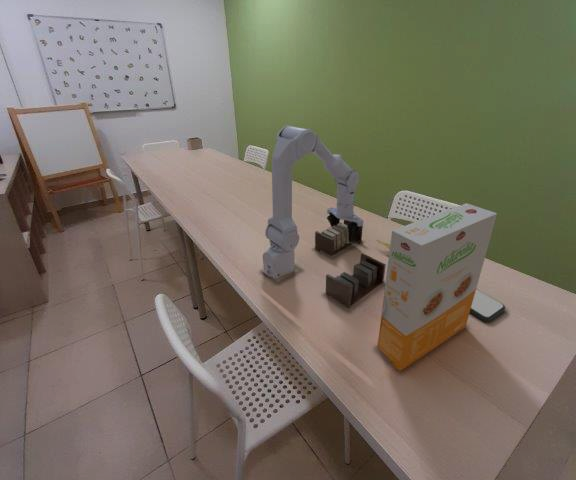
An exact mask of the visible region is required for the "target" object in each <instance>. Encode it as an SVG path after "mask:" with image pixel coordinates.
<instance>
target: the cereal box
mask: <svg viewBox="0 0 576 480" xmlns="http://www.w3.org/2000/svg"><path fill="white" fill-rule="evenodd" d="M497 216H498V213H497V212H494V211H492V210H488V209H486V208H482V207H479V206H477V205H473V204H470V203H467V202H465V203H463V204H461V205H457V206H455V207H452V208H449V209H447V210H444V211H441V212H439V213H438V212H437V213H436V214H433V215H430V216H427V217H425V218H422V219H420V220H417V221H414V222H411V223H409V224H406V225H403V226H400V227H398V228H394V229H392V230H391V236H390V243H389V244H390V249H389V252H388V261H387V268H386V269H387V270H386V276H385V284H384V292H383V298H382V299H383V300H382V306H381V307H382V309H381V316H380V317H381V318H380V324H379V332H378V339H377V348H378V349H379V350H380V351H381V352H382V353H383V354H385V355H386V356H387V357H388V358H389V359H390V364H391V365H392V366H393V367H394V368H395V369H396V370H397V371H398V372H402V371H403V370H404V369H406V368H407V367H408V366H410V365H411V364H413V363H415V362H416V361H418V360H419V359H420V358H422V357H424V356H425V355H426V354H429V352H431V351H432V350H434V349H435V348H437V347H439V346H440V345H441V344H443V343H444V342H446V341H447V340H448V339H450V338H451V337H453V336H454V335H456V334H458V333H459V332H461V331H462V330H463V329H465V328H466V327H467V323H468V320H469V316H470V314H471V313H470V309H471V306H472V302H473V298H474V295H475V291H476V289H477V287H478V284H479V280H480V277H481V273H482V270H483V266H484V262H485V258H486V255H487V252H488V248H489V245H490V241H491V239H492V234H493V231H494V226H495V223H496V219H497Z"/></svg>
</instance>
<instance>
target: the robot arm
mask: <svg viewBox="0 0 576 480" xmlns="http://www.w3.org/2000/svg"><path fill="white" fill-rule="evenodd" d="M275 136H276V142H275V143H276V144H275V146H274V149H273V152H272V155H271V187H272V189H271V190H272V191H271V192H272V193H271V194H272V196H271V197H272V216H271V217H269V218H268V219H267V226H266V227H265V233H264V234H265V238H267V239H268V240H269V244H270V245H269V248H268V249H267V250H266V251H264V252H263V253H262V263H263V265H262V267H263V269H262V273H264V275H266V276H267V277H269V278H272V279H274V280H278V279H279V278H282V277H284V276H286V275H290V274H291V273H293V272H294V271H295V269H296V262H295V260H296V259H295V255H296V254H295V249H296V248H297V246H298V244H299V243H300V242H299V241H300V235H299V233H298V226H297V224H296V222H295V221H294V218H293V165H294V164H295V163H296V162H298V161H299V160H300V159H302V158H304V157H305V156H307V155H308V154H310V153H312V154H313V155H314V156H316V157H317V158H318V159H319V160H321V162H323V168H324V169H325V171H327V172H328V173H329V174H330V175H331V176H332V177H333V181H334V182H335V183H336V184H337V185H336V188H337V189H336V208H335V207H328V208H327V209H326V214H327V215H328V216H326V219H327V221H328V223H329V225H330V228H331V227H332V226H334V225H336V226H337V224H338V223H341V220H343V221H344V220H347V221H349V222H352V224H349V225H347V227H348V230H349V242H352V241H354V239H355V236H356V234H357V232H358V230H359V229H360V227H361V226H362V225H363V226H364V219H363V218H360V216H357V215H356V214H355V212H354V205H355V192H356V190H357V186H358V183H359V182H360V179H361V178H360V175H359V173H358V171H357V170H356V169H352V168H351V166H350V164H349V163H347V162H345V160H344V158H343V157H344V156H342V155H341V154H336V153H334V154H333V153H332V152H331V151H330V150H329V148H328V147H326V145H325V143H324V142H323V141H322V140H321V139H320V136H319V135H318V134H317V133H316V132H315V131H314V130H312V129H311V128H303V127H296V126H292V125H285V126H284V127H282V128H281V129H280V130H279V131H278V132H277V133H276V135H275Z"/></svg>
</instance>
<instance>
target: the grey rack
mask: <svg viewBox="0 0 576 480" xmlns="http://www.w3.org/2000/svg"><path fill="white" fill-rule="evenodd" d="M359 259H360V260H359V263H355V264H354V265H353V273H352V275H351V274H349V273H347V272H345V271H343V272H341V273H340V274H339V275H337V276H335V277H334V276H332V275H331V274H329V273H327V274H326V275H325V294H326V295H327V296H328V297H331V298H332V299H333V300H335V301H337V302H338V303H339V304H341V305H342V306H343V307H346V308H347V309H350V307H352V306H353V305H355V304H356V303H358V302H359V301H360V300H362V299H363V298H364V297H366V296H367V295H368V294H370V293H371V292H372V291H374V290H375V289H377V288H378V287H379V286H381V284H383V283H384V282H385V274H386V273H385V272H386V266H387V264H386V263H383V262H381V261H380V260H377V259H375V258H373V257H372V256H369V255H367V254H365V253H363V252H362V253H360V257H359Z"/></svg>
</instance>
